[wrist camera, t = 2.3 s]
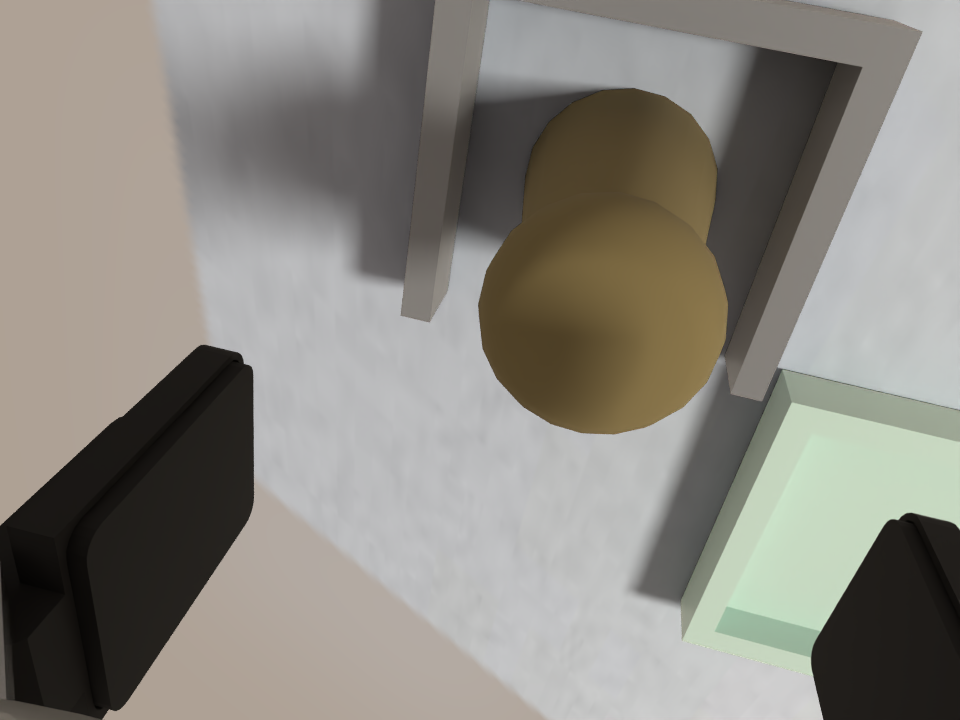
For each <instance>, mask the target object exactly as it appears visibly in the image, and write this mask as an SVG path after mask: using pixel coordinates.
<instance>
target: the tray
mask: <svg viewBox="0 0 960 720" xmlns="http://www.w3.org/2000/svg"><path fill="white" fill-rule="evenodd" d="M906 513H915V514H919V515H924V516H928V517H932V518H936V519H940V520H945V521H949V522H952V523H954V524H956V525H957V527H958V528H959V529H960V411H959V410H954V409H950V408H946V407H942V406H937V405H933V404H929V403H924V402H920V401H916V400H912V399H907V398H903V397H899V396H894V395H890V394H886V393H882V392H877V391H873V390H869V389H864V388H860V387H856V386H852V385H847V384H843V383H839V382H834V381H830V380H826V379H822V378H817V377H813V376H809V375H805V374H800V373H796V372H792V371H787V370H783V369H782V372H781V374H780V376H779V378H778V381H777V383H776V385H775V387H774V390H773V392H772V394H771V397H770V399H769V401H768V403H767V406H766V408H765V410H764V413H763V415H762V417H761V419H760V422H759V424H758V426H757V428H756V431H755V433H754V435H753V438H752V440H751V442H750V444H749V447H748V449H747V451H746V453H745V456H744V458H743V460H742V463H741V465H740V467H739V469H738V472H737V474H736V476H735V478H734V481H733V483H732V485H731V488H730V490H729V492H728V494H727V497H726V499H725V501H724V504H723V506H722V508H721V510H720V513H719V515H718V517H717V519H716V522H715V524H714V526H713V529H712V531H711V533H710V535H709V538H708V540H707V542H706V544H705V547H704V549H703V551H702V554H701V556H700V558H699V560H698V563H697V565H696V567H695V570H694V572H693V574H692V576H691V579H690V581H689V583H688V585H687V588H686V590H685V592H684V595H683V597H682V599H681V627H682V641H684V642H688V643H692V644H695V645H699V646H703V647H707V648H710V649H714V650H718V651H721V652H725V653H729V654H732V655H736V656H740V657H743V658H747V659H751V660H754V661H758V662H762V663H765V664H769V665H773V666H777V667H780V668H784V669H788V670H791V671H795V672H799V673H802V674H806V675H810V676H813V673H812V668H811V653H812V648H813V645H814V642H815V640H816V639H817V637H818V635H819V634H820V632H821V630H822V629H823V627H824V625H825V623H826V622H827V620H828V618H829V617H830V615H831V613H832V612H833V610H834V608H835V607H836V605H837V603H838V602H839V600H840V598H841V597H842V595H843V593H844V592H845V590H846V588H847V587H848V585H849V583H850V582H851V580H852V578H853V576H854V575H855V573H856V571H857V570H858V568H859V566H860V565H861V563H862V561H863V560H864V558H865V556H866V555H867V553H868V551H869V550H870V548H871V546H872V545H873V543H874V541H875V540H876V538H877V536H878V535H879V533H880V531H881V529H882V528H883V526H884V525H885V524H886V522H887V521H889V520H890V519H896V520H899V519H900V517H901V516H903V515H904V514H906Z"/></svg>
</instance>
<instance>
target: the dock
mask: <svg viewBox="0 0 960 720" xmlns="http://www.w3.org/2000/svg"><path fill="white" fill-rule="evenodd" d="M489 1H490V0H435V7H434V16H433V26H432V35H431V44H430V53H429V62H428V71H427V80H426V89H425V99H424V108H423V117H422V126H421V135H420V144H419V153H418V163H417V172H416V181H415V190H414V199H413V208H412V217H411V226H410V236H409V245H408V254H407V263H406V272H405V281H404V290H403V299H402V309H401V316H405V317H409V318H413V319H417V320H421V321H426V322H430V321H431V319H432V317H433V316H434V314H435V312H436V310H437V309H438V307H439V305H440V303H441V302H442V300H443V298H444V296H445V295H446V293H447V291H448V285H449V278H450V271H451V264H452V257H453V250H454V243H455V236H456V229H457V222H458V215H459V209H460V202H461V195H462V188H463V181H464V174H465V167H466V160H467V153H468V146H469V139H470V133H471V126H472V119H473V112H474V105H475V98H476V91H477V84H478V77H479V70H480V63H481V57H482V50H483V43H484V36H485V29H486V22H487V15H488V8H489ZM519 1H524V2H529V3H534V4H539V5H544V6H550V7H555V8H560V9H565V10H570V11H576V12H581V13H586V14H591V15H596V16H601V17H607V18H612V19H617V20H622V21H627V22H632V23H638V24H643V25H648V26H653V27H658V28H663V29H669V30H674V31H679V32H684V33H689V34H694V35H700V36H705V37H710V38H715V39H720V40H725V41H731V42H736V43H741V44H746V45H751V46H756V47H762V48H767V49H772V50H777V51H782V52H787V53H793V54H798V55H803V56H808V57H813V58H818V59H824V60H829V61H834V62H838V63H837V66H836V68H835V71H834V74H833V76H832V79H831V81H830V84H829V87H828V89H827V92H826V94H825V97H824V99H823V102H822V105H821V107H820V110H819V112H818V115H817V118H816V120H815V123H814V125H813V128H812V131H811V133H810V136H809V138H808V141H807V144H806V146H805V149H804V151H803V154H802V157H801V159H800V162H799V164H798V167H797V169H796V172H795V175H794V177H793V180H792V182H791V185H790V188H789V190H788V193H787V195H786V198H785V201H784V203H783V206H782V208H781V211H780V214H779V216H778V219H777V221H776V224H775V226H774V229H773V232H772V234H771V237H770V239H769V242H768V245H767V247H766V250H765V252H764V255H763V258H762V260H761V263H760V265H759V268H758V271H757V273H756V276H755V278H754V281H753V284H752V286H751V289H750V291H749V294H748V296H747V299H746V302H745V304H744V307H743V309H742V312H741V315H740V317H739V320H738V322H737V325H736V328H735V330H734V333H733V335H732V338H731V341H730V343H729V346H728V348H727V351H726V354H725V362H726V368H727V374H728V381H729V387H730V393H731V394H732V395H736V396H740V397H745V398H749V399H753V400H757V401H761V402H762V401H763V398H764V396H765V394H766V391H767V389H768V387H769V384H770V382H771V380H772V378H773V375H774V373H775V371H776V368H777V366H778V364H779V361H780V359H781V357H782V354H783V352H784V350H785V348H786V345H787V343H788V341H789V338H790V336H791V334H792V331H793V329H794V327H795V325H796V322H797V320H798V318H799V315H800V313H801V311H802V308H803V306H804V304H805V301H806V299H807V297H808V295H809V292H810V290H811V288H812V285H813V283H814V281H815V278H816V276H817V274H818V272H819V269H820V267H821V265H822V262H823V260H824V258H825V255H826V253H827V251H828V248H829V246H830V244H831V242H832V239H833V237H834V235H835V232H836V230H837V228H838V225H839V223H840V221H841V219H842V216H843V214H844V212H845V209H846V207H847V205H848V202H849V200H850V198H851V195H852V193H853V191H854V189H855V186H856V184H857V182H858V179H859V177H860V175H861V172H862V170H863V168H864V166H865V163H866V161H867V159H868V156H869V154H870V152H871V149H872V147H873V145H874V142H875V140H876V138H877V136H878V133H879V131H880V129H881V126H882V124H883V122H884V119H885V117H886V115H887V113H888V110H889V108H890V106H891V103H892V101H893V99H894V96H895V94H896V92H897V89H898V87H899V85H900V83H901V80H902V78H903V76H904V73H905V71H906V69H907V66H908V64H909V62H910V60H911V57H912V55H913V53H914V50H915V48H916V46H917V43H918V41H919V39H920V36H921V34H922V31H919V30H917V29H914V28H912V27H909V26H907V25H904V24H902V23H899V22H897V21H894V20H889V19H883V18H878V17H873V16H867V15H862V14H857V13H851V12H846V11H841V10H835V9H830V8H824V7H819V6H814V5H808V4H803V3H798V2H792V1H787V0H519Z"/></svg>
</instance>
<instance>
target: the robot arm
mask: <svg viewBox="0 0 960 720" xmlns="http://www.w3.org/2000/svg"><path fill="white" fill-rule="evenodd" d="M253 501H254V427H253V370H252V367H251V366H250V365H246V364H244V362H243V358H242V355H241V354H239V353H237V352H233V351H229V350H225V349H220V348H216V347H212V346H208V345H200V346H199V347H197V348H196V349H195V350H194V351H193V352H191V353H190V355H188V356H187V357H186V358H185V359H184V360H183V361H182V362H181V363H180V364H179V365H178V366H176V367H175V368H174V369H173V370H172V371H171V372H170V373H169V374H168V375H167V376H166V377H165V378H164V379H163V380H162V381H160V382H159V383H158V384H157V385H156V386H155V387H154V388H153V389H152V390H151V391H150V392H149V393H148V394H146V396H144V397H143V398H142V399H141V400H140V401H139V402H138V403H137V404H136V405H135V406H134V407H133V408H131V409H130V410H129V411H128V412H127V413H126V414H125V415H124V416H123V417H119V418H118V419H116V420H115V421H114V422H112V423H111V424H110V425H109V426H107V427H106V428H105V429H104V430H103V431H102V432H101V433H100V434H99V435H98V436H97V437H96V438H95V439H93V440H92V441H91V442H90V443H89V444H88V445H87V446H86V447H85V448H84V449H83V450H82V451H80V453H78V454H77V455H76V456H75V457H74V458H73V459H72V460H71V461H70V462H69V463H68V464H67V465H66V466H64V467H63V468H62V469H61V470H60V471H59V472H58V473H57V474H56V475H55V476H53V477H52V478H51V479H50V480H49V481H48V482H47V483H46V484H45V485H44V486H43V487H42V488H40V489H39V490H38V491H37V492H36V493H35V494H34V495H33V496H32V497H31V498H30V499H29V500H27V501H26V502H25V503H24V504H23V505H22V506H21V507H20V508H19V509H18V510H17V511H16V512H15V513H13V514H12V515H11V516H10V517H9V518H8V519H7V520H6V521H5V522H4V523H3V524H2V525H1V526H0V720H102V719H103V717H104V716H105V714H106V713H107V711H108V710H109V709H110V710H113V711H117V710H119V709H121V708H122V707H123V706H124V705H125V704H126V702H127V701H128V700H129V698H130V697H131V695H132V694H133V692H134V691H135V689H136V688H137V686H138V685H139V683H140V682H141V680H142V678H143V677H144V676H145V674H146V673H147V671H148V670H149V668H150V667H151V665H152V664H153V662H154V661H155V659H156V658H157V656H158V655H159V653H160V651H161V650H162V649H163V647H164V645H165V644H166V643H167V641H168V640H169V638H170V636H171V635H172V634H173V632H174V631H175V629H176V628H177V626H178V625H179V623H180V621H181V620H182V619H183V617H184V616H185V614H186V613H187V611H188V610H189V608H190V607H191V605H192V604H193V602H194V601H195V599H196V598H197V596H198V595H199V593H200V592H201V590H202V589H203V587H204V585H205V584H206V583H207V581H208V580H209V578H210V577H211V575H212V574H213V572H214V571H215V569H216V567H217V566H218V565H219V563H220V562H221V560H222V559H223V557H224V556H225V554H226V553H227V551H228V550H229V548H230V547H231V545H232V544H233V542H234V541H235V539H236V538H237V536H238V535H239V533H240V532H241V530H242V529H243V527H244V526H245V524H246V523H247V521H248V519H249V517H250V514H251V511H252V507H253ZM811 668H812V673H813V677H814V681H815V686H816V690H817V694H818V698H819V703H820V707H821V711H822V715H823V720H960V529H959V528H958V527H957V525H956V524H954V523H952V522H949V521H945V520H940V519H936V518H932V517H928V516H924V515H919V514H915V513H906V514H904V515H903V516H901V517H900V519H899V520H896V519H890V520H889V521H887V522H886V524H885V525H884V526H883V528H882V529H881V531H880V533H879V535H878V536H877V538H876V540H875V541H874V543H873V545H872V546H871V548H870V550H869V551H868V553H867V555H866V556H865V558H864V560H863V561H862V563H861V565H860V566H859V568H858V570H857V571H856V573H855V575H854V576H853V578H852V580H851V582H850V583H849V585H848V587H847V588H846V590H845V592H844V593H843V595H842V597H841V598H840V600H839V602H838V603H837V605H836V607H835V608H834V610H833V612H832V613H831V615H830V617H829V618H828V620H827V622H826V623H825V625H824V627H823V629H822V630H821V632H820V634H819V635H818V637H817V639H816V640H815V642H814V645H813V648H812V653H811Z"/></svg>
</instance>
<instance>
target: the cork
mask: <svg viewBox="0 0 960 720" xmlns="http://www.w3.org/2000/svg"><path fill="white" fill-rule="evenodd" d="M717 170H718V168H717V165H716V161H715V158H714V154H713V151H712V148H711V144H710V141H709V138H708V137H707V136H706V134H705V133H704V132H703V130H702V129H701V127H700V126H699V125H698V123H697V122H696V120H695V119H694V118H693V116H692V115H691V114H690V113H688V112H687V111H685V110H684V109H682V108H681V107H680V106H678V105H677V104H675V103H674V102H672V101H671V100H669V99H668V98H666V97H665V96H661V95H657V94H653V93H650V92H646V91H642V90H639V89H635V88H632V89H616V90H602V91H600V92H597V93H595V94H592V95H590V96H587V97H585V98H582V99H580V100H577V101H575V102H572V103H571V104H570V105H569V106H568V107H566V108H565V109H564V110H563V111H562V112H560V113H559V114H558V115H557V116H556V117H554V118H553V119H552V120H551V121H550V122H549V123H548V124H547V126H546V127H545V129H544V131H543V132H542V134H541V135H540V137H539V138H538V140H537V142H536V143H535V145H534V146H533V148H532V152H531V156H530V160H529V164H528V168H527V172H526V176H525V188H524V201H523V214H522V223H521V224H520V225H518V226H517V227H516V228H514V229H513V230H512V231H511V232H510V234H509V235H508V237H507V238H506V240H505V241H504V243H503V244H502V246H501V247H500V249H499V250H498V252H497V254H496V255H495V257H494V258H493V260H492V261H491V263H490V265H489V267H488V269H487V270H486V274H485V278H484V283H483V287H482V291H481V295H480V299H479V303H478V307H479V320H480V329H481V338H482V347H483V350H484V353H485V355H486V357H487V359H488V361H489V363H490V365H491V368H492V370H493V372H494V374H495V376H496V378H497V379H498V380H499V382H500V383H501V384H502V385H503V386H504V387H505V388H506V389H507V390H508V391H509V392H510V394H511V395H512V396H513V397H514V398H515V399H516V400H517V401H518V402H519V403H520V404H521V405H522V406H523V407H524V408H526V409H527V410H529V411H531V412H532V413H534V414H536V415H537V416H539V417H540V418H542V419H544V420H545V421H547V422H549V423H550V424H553V425H556V426H559V427H563V428H566V429H569V430H573V431H576V432H579V433H591V434H618V433H622V432H627V431H631V430H636V429H640V428H644V427H647V426H650V425H652V424H654V423H656V422H657V421H659V420H661V419H663V418H665V417H667V416H668V415H670V414H672V413H674V412H676V411H677V410H679V409H681V408H683V407H684V406H685V405H686V404H687V403H688V402H689V401H690V400H691V399H692V397H693V396H694V395H695V394H696V393H697V392H698V391H699V390H700V389H701V388H702V387H703V386H704V385H705V384H706V383H707V381H708V379H709V377H710V374H711V372H712V370H713V368H714V366H715V364H716V361H717V359H718V357H719V355H720V353H721V350H722V348H723V345H724V343H725V340H726V327H727V313H728V301H727V297H726V292H725V289H724V286H723V282H722V279H721V276H720V272H719V269H718V266H717V263H716V259H715V257H714V255H713V254H712V253H711V251H710V250H709V249H708V247H707V246H706V240H707V236H708V231H709V227H710V222H711V218H712V213H713V209H714V205H715V200H716V187H717Z"/></svg>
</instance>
